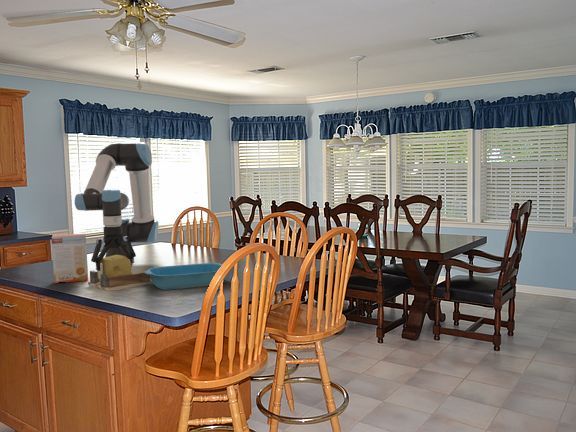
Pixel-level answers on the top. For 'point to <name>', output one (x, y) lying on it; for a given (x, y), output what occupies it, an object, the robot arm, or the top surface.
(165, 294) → the top surface
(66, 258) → the cracker box
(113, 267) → the cheese
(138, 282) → the slot board
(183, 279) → the casserole dish
